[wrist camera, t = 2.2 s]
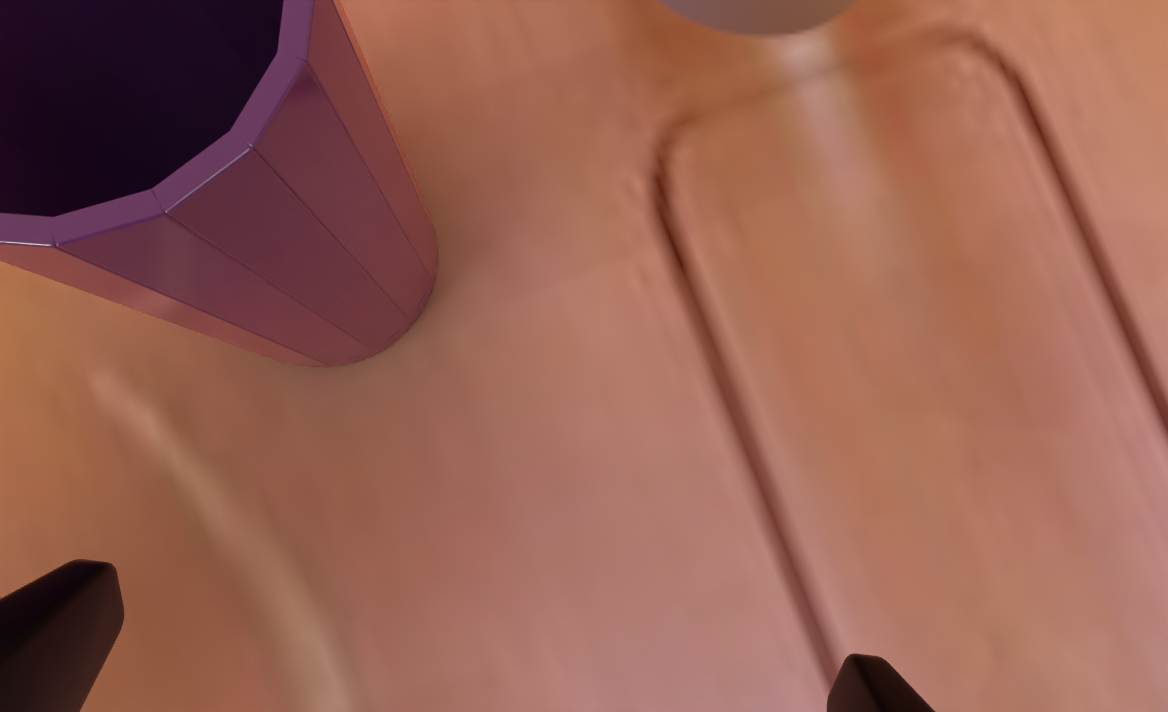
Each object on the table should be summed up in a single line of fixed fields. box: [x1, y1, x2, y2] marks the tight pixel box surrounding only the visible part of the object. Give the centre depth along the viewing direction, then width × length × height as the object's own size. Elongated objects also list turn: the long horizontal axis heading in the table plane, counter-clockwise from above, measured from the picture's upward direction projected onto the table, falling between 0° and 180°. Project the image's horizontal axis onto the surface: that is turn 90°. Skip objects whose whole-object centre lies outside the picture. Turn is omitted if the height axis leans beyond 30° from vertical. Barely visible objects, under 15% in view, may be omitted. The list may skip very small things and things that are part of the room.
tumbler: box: [0, 0, 438, 367], centre depth 16 cm, size 7×7×13 cm
